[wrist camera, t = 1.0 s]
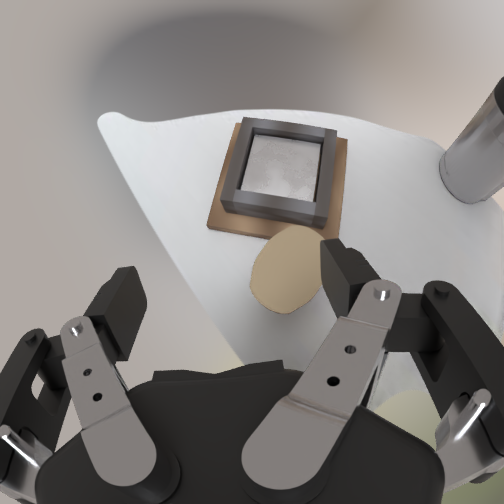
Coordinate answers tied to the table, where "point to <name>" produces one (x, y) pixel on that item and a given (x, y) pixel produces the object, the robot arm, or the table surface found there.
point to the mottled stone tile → (282, 167)
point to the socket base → (271, 206)
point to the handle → (288, 270)
